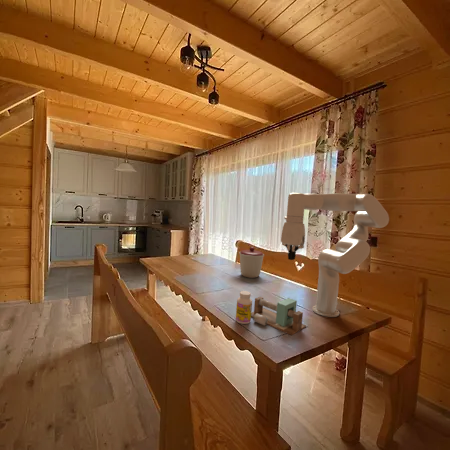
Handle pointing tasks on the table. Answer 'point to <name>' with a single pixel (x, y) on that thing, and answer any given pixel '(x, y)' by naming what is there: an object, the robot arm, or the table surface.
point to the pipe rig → (271, 316)
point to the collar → (285, 311)
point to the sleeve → (260, 319)
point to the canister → (251, 262)
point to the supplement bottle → (244, 308)
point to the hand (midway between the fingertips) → (291, 259)
